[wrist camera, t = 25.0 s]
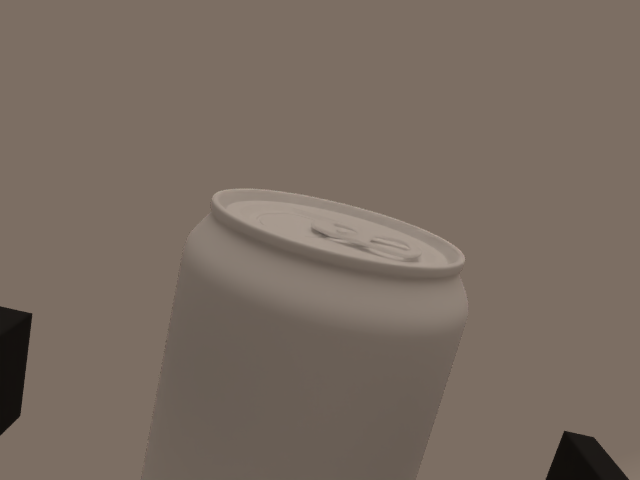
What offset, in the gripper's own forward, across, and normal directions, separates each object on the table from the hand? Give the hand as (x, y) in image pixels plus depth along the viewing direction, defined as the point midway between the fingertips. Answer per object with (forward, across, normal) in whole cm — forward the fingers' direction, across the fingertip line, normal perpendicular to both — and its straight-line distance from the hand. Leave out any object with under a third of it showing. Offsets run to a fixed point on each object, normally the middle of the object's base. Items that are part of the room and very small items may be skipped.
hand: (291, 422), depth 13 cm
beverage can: (+3, 0, +8) cm, 8 cm away
